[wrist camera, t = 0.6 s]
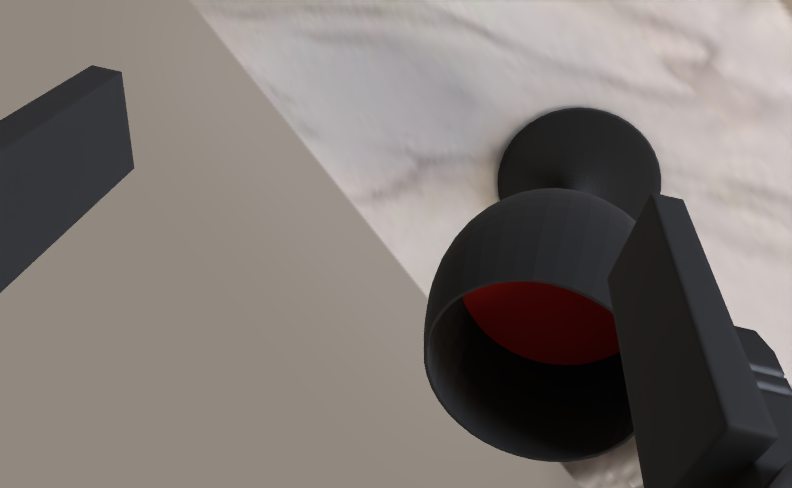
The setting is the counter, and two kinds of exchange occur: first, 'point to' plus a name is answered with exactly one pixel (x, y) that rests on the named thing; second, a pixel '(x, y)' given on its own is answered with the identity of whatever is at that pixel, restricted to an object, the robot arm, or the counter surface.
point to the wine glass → (543, 292)
